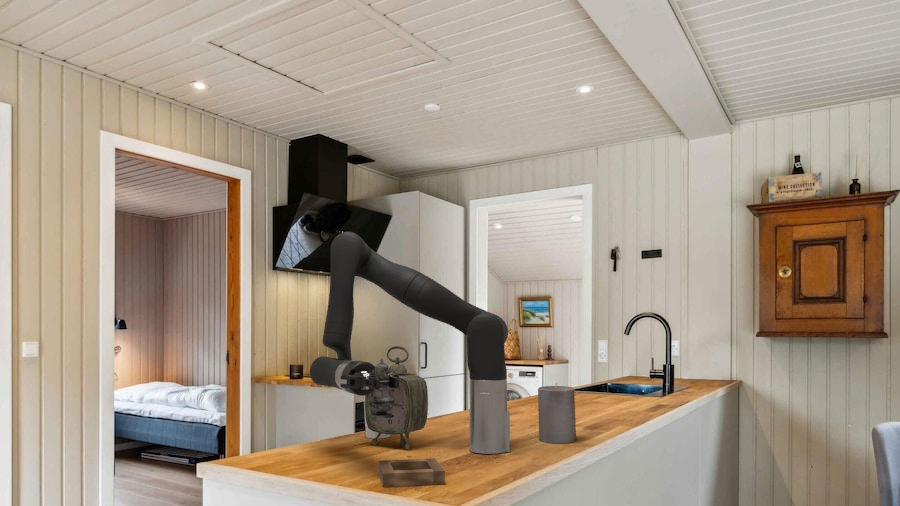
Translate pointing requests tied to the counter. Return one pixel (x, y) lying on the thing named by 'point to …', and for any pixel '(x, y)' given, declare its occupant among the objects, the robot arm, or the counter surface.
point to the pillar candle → (556, 414)
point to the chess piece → (381, 394)
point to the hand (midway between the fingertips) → (387, 383)
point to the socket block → (411, 472)
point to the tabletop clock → (401, 405)
